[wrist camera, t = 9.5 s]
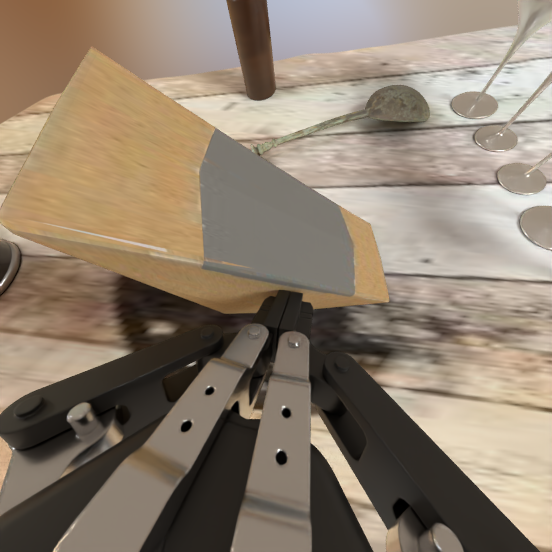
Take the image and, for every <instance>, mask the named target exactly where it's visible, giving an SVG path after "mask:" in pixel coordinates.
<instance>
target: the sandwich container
mask: <svg viewBox="0 0 552 552" xmlns="http://www.w3.org/2000/svg"><path fill="white" fill-rule="evenodd" d="M214 130H215V131H214ZM213 133H214V134H213ZM0 224H2V225H3V226H4V227H6V228H7V229H8V230H9V231H10V232H12V233H13V234H15V235H18V236H20V237H23V238H26V239H28V240H31V241H34V242H36V243H39V244H42V245H44V246H47V247H50V248H52V249H55V250H58V251H60V252H63V253H65V254H68V255H71V256H73V257H76V258H79V259H81V260H84V261H87V262H89V263H92V264H95V265H97V266H100V267H103V268H105V269H108V270H111V271H113V272H116V273H118V274H121V275H124V276H126V277H129V278H132V279H134V280H137V281H140V282H142V283H145V284H148V285H150V286H153V287H156V288H158V289H161V290H164V291H166V292H169V293H171V294H174V295H177V296H179V297H182V298H185V299H187V300H190V301H193V302H195V303H198V304H201V305H203V306H206V307H209V308H211V309H214V310H217V311H219V312H222V313H224V314H235V313H257V312H258V310H259V308H260V306H261V305H262V303H263V301H264V299H266V298H267V297H269V296H274V297H276V295H277V293H278V291H279V290H286V291H291V292H299V293H303V300H302V301H304V302H310V303H311V305H312V306H313V309H320V308H331V307H342V306H352V305H363V304H374V303H385V302H389V296H388V291H387V286H386V281H385V276H384V271H383V267H382V262H381V258H380V254H379V251H378V248H377V245H376V241H375V238H374V235H373V231H372V228H371V225H370V223H368V222H366V221H364V220H363V219H361V218H359V217H357V216H356V215H354V214H352V213H351V212H349V211H347V210H346V209H344V208H342V207H341V206H339V205H337V204H336V203H334V202H332V201H331V200H329V199H327V198H326V197H324V196H323V195H321V194H319V193H318V192H316V191H314V190H313V189H311V188H309V187H308V186H306V185H305V184H303V183H302V182H300V181H299V180H297V179H295V178H294V177H292V176H291V175H289V174H288V173H286V172H285V171H283V170H281V169H280V168H278V167H276V166H275V165H273V164H272V163H270V162H268V161H267V160H265V159H263V158H262V157H260V156H259V155H257V154H255V153H254V152H252V151H251V150H249V149H247V148H246V147H244V146H243V145H241V144H240V143H238V142H237V141H235V140H234V139H232V138H230V137H229V136H227V135H226V134H224V133H223V132H221V131H220V130H218V129H216V128H215V127H214V126H212V125H210V124H209V123H207V122H206V121H204V120H203V119H201V118H200V117H198V116H197V115H195V114H194V113H192V112H190V111H189V110H187V109H186V108H184V107H183V106H181V105H180V104H178V103H177V102H175V101H173V100H172V99H170V98H169V97H167V96H166V95H164V94H163V93H161V92H160V91H158V90H157V89H155V88H153V87H152V86H150V85H149V84H147V83H146V82H144V81H143V80H141V79H140V78H138V77H137V76H135V75H134V74H132V73H131V72H129V71H128V70H126V69H125V68H123V67H122V66H120V65H119V64H117V63H116V62H114V61H113V60H111V59H110V58H108V57H107V56H105V55H104V54H102V53H101V52H99V51H98V50H96V49H95V48H93V47H91V48H90V50H89V51H88V53H87V54H86V56H85V58H84V59H83V61H82V62H81V64H80V66H79V67H78V69H77V71H76V72H75V74H74V75H73V77H72V79H71V80H70V82H69V84H68V85H67V87H66V88H65V90H64V92H63V93H62V95H61V96H60V98H59V100H58V101H57V103H56V105H55V106H54V108H53V110H52V111H51V113H50V115H49V117H48V119H47V121H46V123H45V125H44V127H43V129H42V130H41V132H40V134H39V136H38V138H37V140H36V142H35V144H34V145H33V147H32V149H31V151H30V153H29V155H28V157H27V159H26V161H25V162H24V164H23V166H22V168H21V170H20V172H19V174H18V176H17V177H16V179H15V181H14V183H13V185H12V187H11V189H10V191H9V193H8V194H7V196H6V198H5V200H4V202H3V204H2V206H1V208H0Z"/></svg>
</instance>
